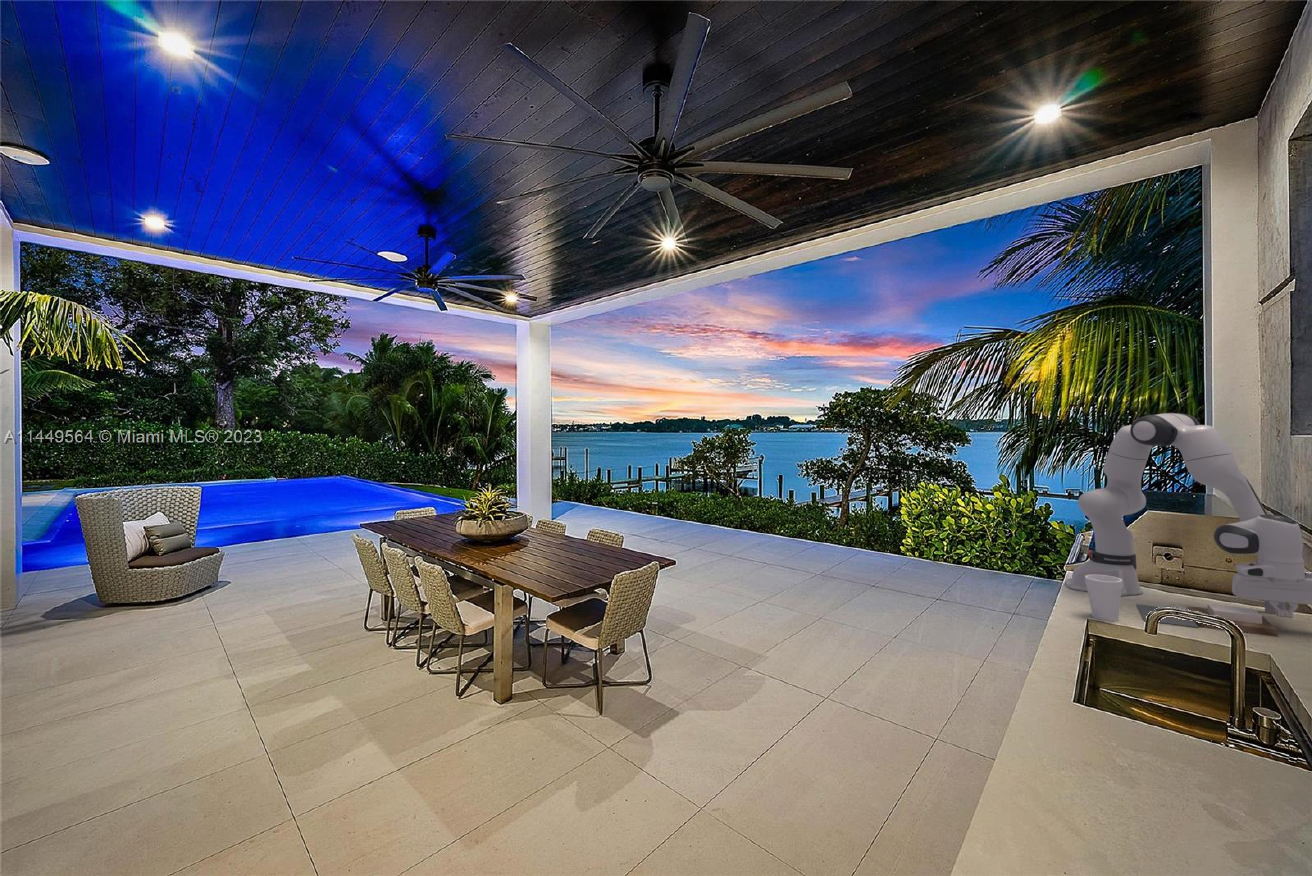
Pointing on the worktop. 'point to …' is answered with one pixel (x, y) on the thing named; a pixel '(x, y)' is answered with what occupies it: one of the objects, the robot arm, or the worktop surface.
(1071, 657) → the worktop surface
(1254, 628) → the plate
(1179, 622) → the mat
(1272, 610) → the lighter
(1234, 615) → the tile
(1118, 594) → the foam cup
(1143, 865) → the worktop surface
